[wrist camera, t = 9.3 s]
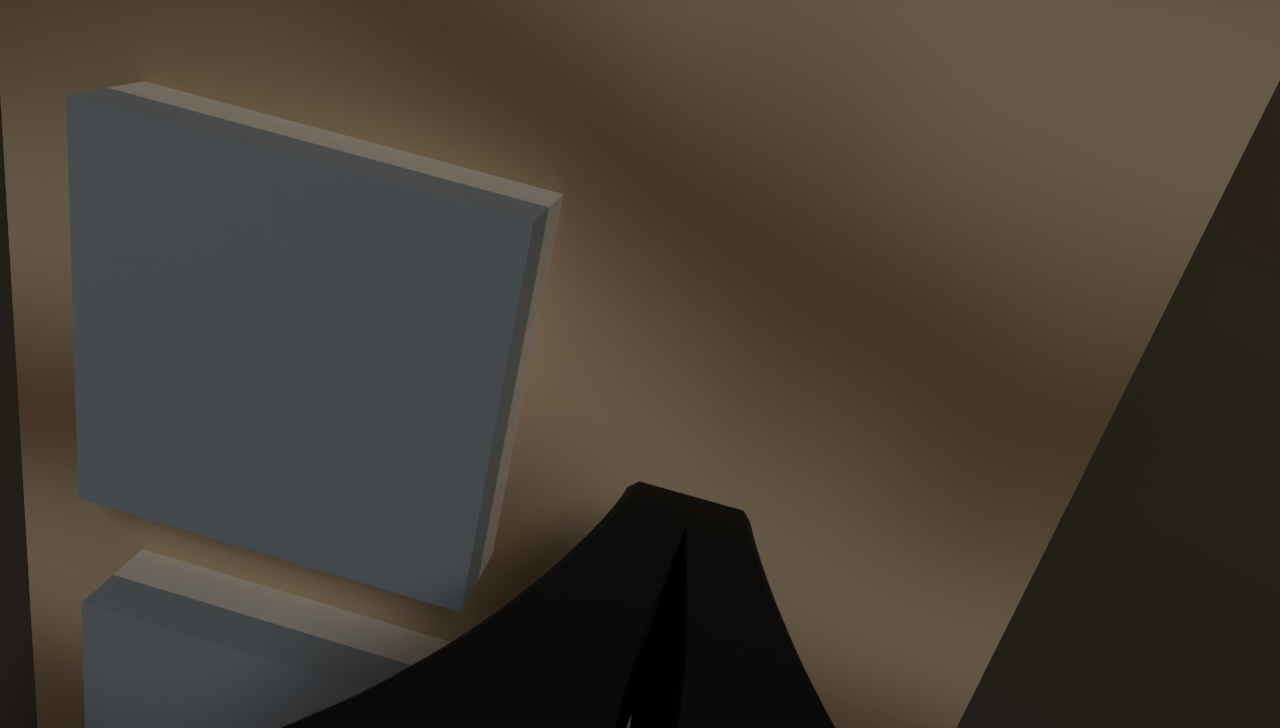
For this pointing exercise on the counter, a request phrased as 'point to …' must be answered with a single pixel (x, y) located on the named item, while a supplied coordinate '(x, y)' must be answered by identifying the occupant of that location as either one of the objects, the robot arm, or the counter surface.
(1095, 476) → the counter surface
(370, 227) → the tile near
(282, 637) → the tile far
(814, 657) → the cork mat
